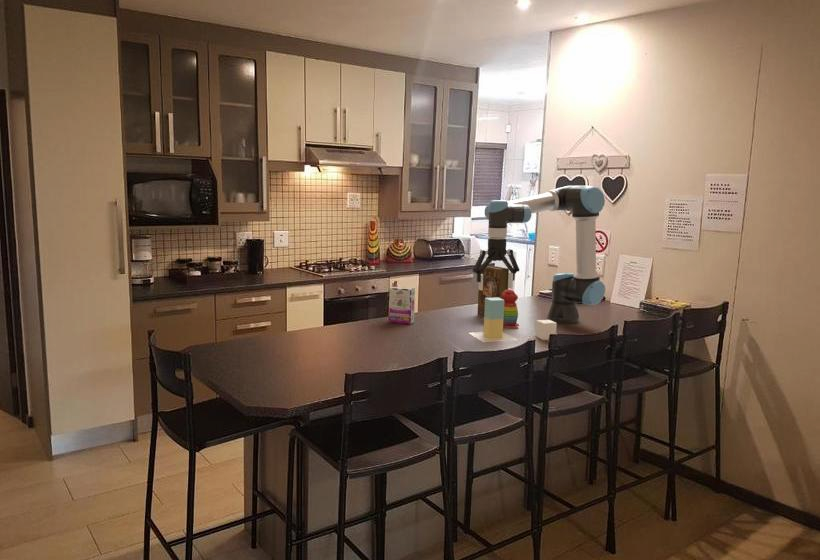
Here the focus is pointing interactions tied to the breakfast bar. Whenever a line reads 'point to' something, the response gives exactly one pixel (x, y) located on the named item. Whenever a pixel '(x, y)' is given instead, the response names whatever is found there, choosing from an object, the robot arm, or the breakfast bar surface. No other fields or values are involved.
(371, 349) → the breakfast bar surface
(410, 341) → the breakfast bar surface
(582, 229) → the robot arm
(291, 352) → the breakfast bar surface
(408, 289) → the candy bar box
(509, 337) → the build plate
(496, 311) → the brick
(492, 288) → the book
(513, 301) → the stacking bear
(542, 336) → the brick
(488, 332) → the brick base
